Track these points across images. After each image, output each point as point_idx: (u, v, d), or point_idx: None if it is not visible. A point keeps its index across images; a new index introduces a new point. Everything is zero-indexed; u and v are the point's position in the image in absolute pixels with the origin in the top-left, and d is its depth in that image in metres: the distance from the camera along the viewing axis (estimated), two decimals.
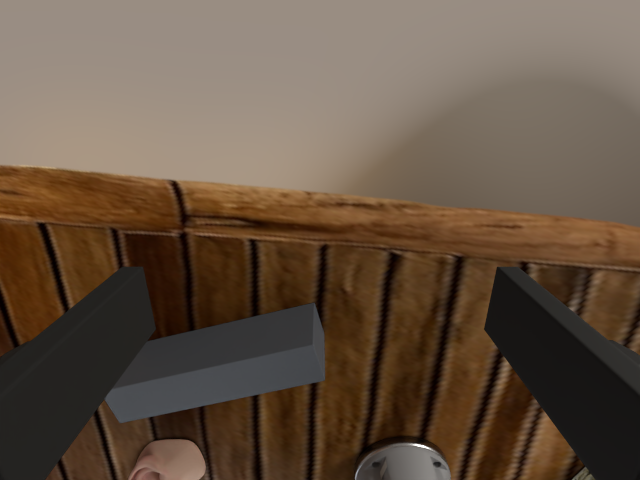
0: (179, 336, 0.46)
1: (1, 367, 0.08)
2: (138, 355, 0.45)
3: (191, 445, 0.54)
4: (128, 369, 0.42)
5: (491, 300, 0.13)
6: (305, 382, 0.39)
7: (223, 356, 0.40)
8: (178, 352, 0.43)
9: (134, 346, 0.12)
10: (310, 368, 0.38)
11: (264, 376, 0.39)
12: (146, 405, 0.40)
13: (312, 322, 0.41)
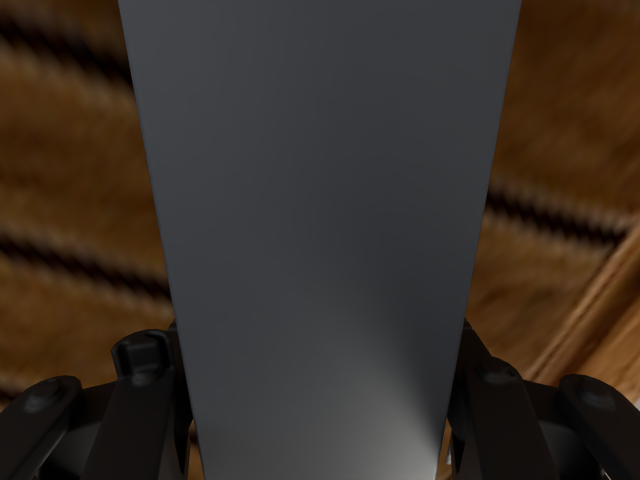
0: None
1: None
2: None
3: None
4: None
5: None
6: None
7: None
8: None
9: None
10: None
11: (304, 340, 0.06)
12: None
13: None
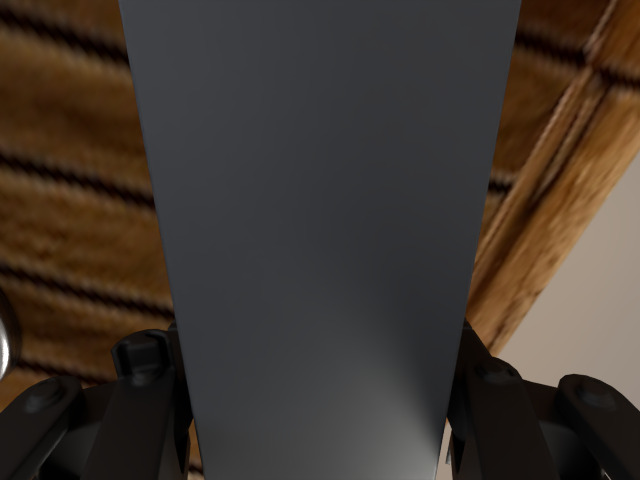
0: None
1: None
2: None
3: None
4: None
5: None
6: None
7: None
8: None
9: None
10: None
11: (304, 340, 0.06)
12: None
13: None
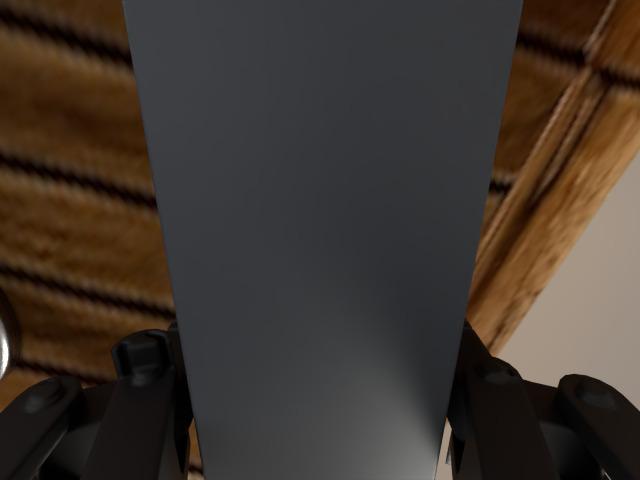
0: None
1: None
2: None
3: None
4: None
5: None
6: None
7: None
8: None
9: None
10: None
11: (305, 339, 0.06)
12: None
13: None
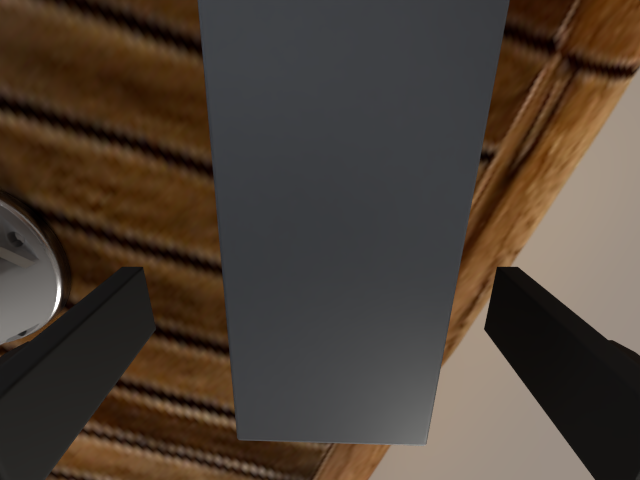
0: None
1: (1, 367, 0.08)
2: None
3: None
4: None
5: (491, 300, 0.13)
6: (243, 376, 0.08)
7: None
8: None
9: (134, 346, 0.12)
10: (318, 411, 0.09)
11: (328, 215, 0.07)
12: None
13: None
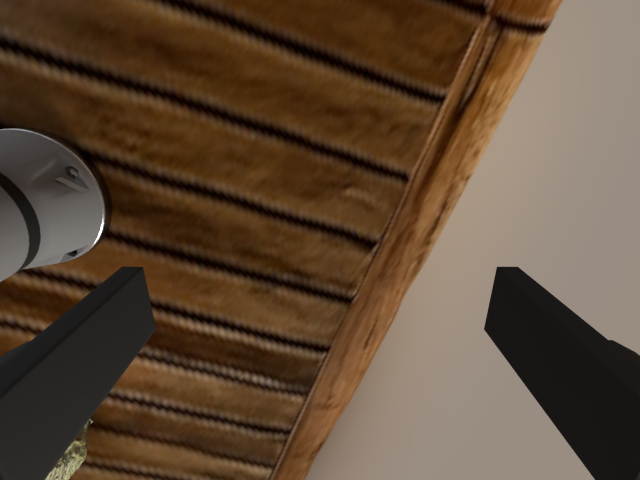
0: None
1: (1, 367, 0.08)
2: None
3: None
4: None
5: (491, 300, 0.13)
6: None
7: None
8: None
9: (134, 346, 0.12)
10: None
11: None
12: None
13: None
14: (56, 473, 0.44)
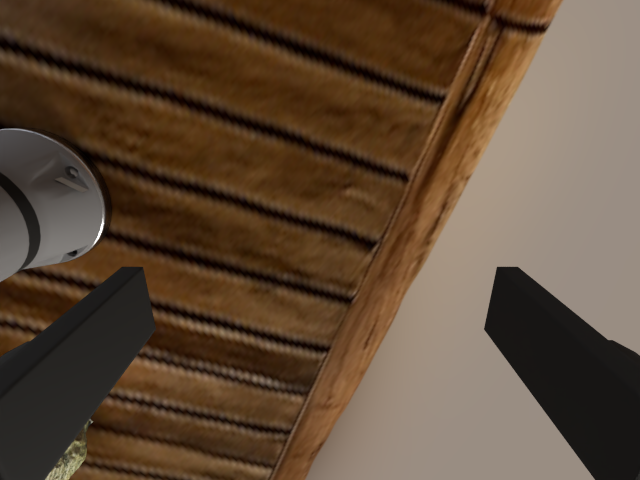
0: None
1: (1, 367, 0.08)
2: None
3: None
4: None
5: (491, 300, 0.13)
6: None
7: None
8: None
9: (134, 346, 0.12)
10: None
11: None
12: None
13: None
14: (56, 473, 0.44)
